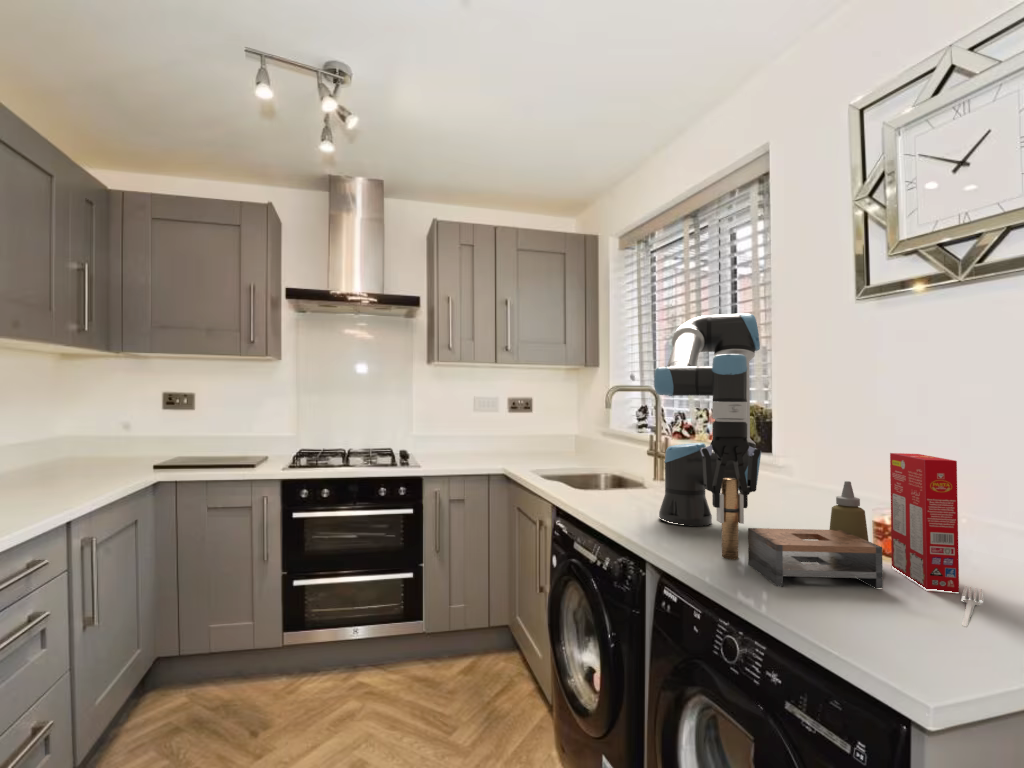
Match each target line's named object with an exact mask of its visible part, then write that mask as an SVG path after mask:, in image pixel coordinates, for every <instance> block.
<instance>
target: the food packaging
mask: <svg viewBox="0 0 1024 768" xmlns="http://www.w3.org/2000/svg"><path fill="white" fill-rule="evenodd" d="M889 462H890V463H889V471H890V474H889V475H890V477H889V479H890V480H889V481H890V526H891V527H890V538H891V539H890V541H891V542H890V544H891V545H890V546H891V548H890V549H891V567H892V566H893V567H894V568H896V569H897V570H899V571H900V572H902V573H903V574H905V575H906V576H908V577H910V578H911V579H913V580H914V581H916V582H917V583H918V584H920V585H922V586H923V587H925V588H926V589H937V590H944V591H952V592H959V593H960V568H959V567H960V563H959V512H958V507H959V506H958V464H957V463H958V461H957V460H953V459H949V458H942V457H938V456H931V455H926V454H920V453H904V452H903V453H901V452H900V453H898V452H894V453H893V452H890V453H889Z"/></svg>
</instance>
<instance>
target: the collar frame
mask: <svg viewBox="0 0 1024 768" xmlns="http://www.w3.org/2000/svg"><path fill="white" fill-rule="evenodd" d="M747 540H748V541H747V545H748V546H747V547H748V548H747V549H748V550H747V555H748V557H747V558H748V559H747V561H748V562H747V564H748V566H749V567H751V568H752V569H754V570H755V572H757V573H758V574H760V575H761V576H763V577H764V578H765V579H766V580H767V581H769V582H770V583H771V584H772V585H774V586H776V587H783V586H784V577H803V578H804V577H807V578H809V577H810V578H837V579H838V578H840V579H841V578H845V579H849V578H851V579H857V578H858V579H857V580H859V579H860V580H859V581H861V580H862V581H861V582H863V581H864V582H863V583H865V584H866V583H867V584H866V585H868V584H869V585H868V586H870V585H871V586H870V587H872V586H873V587H872V588H874V587H875V588H883V589H884V584H883V583H884V581H883V580H884V578H883V576H884V575H883V574H884V573H883V572H884V571H883V568H884V567H883V547H882V546H880V545H878V544H876V543H873V542H870V541H866V540H864V539H861V538H859V537H857V536H854V535H852V534H849V533H847V532H845V531H842V530H829V529H814V528H813V529H810V528H805V529H804V528H770V527H769V528H765V527H763V528H759V527H758V528H757V527H748V528H747ZM806 563H807V564H806ZM808 563H809V564H808ZM810 563H811V564H810ZM813 563H818V564H813ZM875 588H874V589H875Z"/></svg>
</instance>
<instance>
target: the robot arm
mask: <svg viewBox="0 0 1024 768" xmlns="http://www.w3.org/2000/svg"><path fill="white" fill-rule="evenodd" d="M760 343H761V342H760V335H759V328H758V322H757V318H756V317H755V315H754V314H752V313H739V312H737V313H727V314H726V313H725V314H724V313H723V314H710V315H709V314H707V315H706V314H705V315H701V316H697V317H693V318H691V319H688V320H687V321H686V322H684V323H682V324H681V325H680V326H679V327H678V328H677V329H676V330H675V332H673V336H672V339H671V345H672V350H671V353H670V356H669V359H668V362H667V365H666V366H660V367H657V368H656V369H655V371H654V378H653V379H654V384H653V385H654V391H655V393H656V394H657V395H658V396H669V397H676V396H677V397H680V396H681V397H683V396H684V397H688V396H695V397H696V396H699V397H703V396H704V397H705V396H706V397H711V396H712V406H711V407H712V409H711V410H712V411H711V412H712V413H711V414H712V419H713V420H714V421H713V422H712V425H711V426H712V440H711V442H710V444H709V445H707V446H706V444H705V443H704V442H693V443H682V444H676V445H669V446H668V447H667V448H666V450H665V457H664V497H663V499H662V502H661V505H660V507H659V508H660V509H659V510H658V511H659V512H658V518H659V517H660V518H661V519H664V520H666V521H669V522H673V523H678V524H684V525H693V526H692V527H703V525H705V526H709V524H710V525H711V524H712V523H713V521H712V520H713V519H712V518H713V516H712V512H711V509H710V507H709V503H708V500H707V498H706V497H707V496H706V491H709V492H711V493H712V506H713V508H716V521H717V522H718V523H720V524H722V523H724V494H722V481H723V478H735V479H738V508H739V512H738V524H744V522H745V521H744V519H745V518H744V517H745V515H744V513H745V511H744V509H748V505H749V504H748V503H749V501H748V495H750V494H751V493H755V492H756V491H757V486H758V481H759V473H760V464H761V457H762V450H761V449H760V448H756V446H757V445H756V444H757V443H755V441H753V440H752V439H751V416H750V415H751V408H750V406H751V405H750V404H751V402H750V401H751V400H750V394H751V393H750V392H751V391H750V385H751V384H750V382H751V381H750V380H751V379H750V361H751V360H753V358H755V355H756V354H755V353H756V352H758V351H760V350H761V349H760V348H761V346H760V345H761V344H760ZM700 353H714V354H713V357H712V365H711V366H705V365H704V366H697V365H698V360H699V354H700Z"/></svg>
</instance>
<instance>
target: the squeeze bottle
mask: <svg viewBox="0 0 1024 768" xmlns="http://www.w3.org/2000/svg"><path fill="white" fill-rule="evenodd" d="M835 502H836V503H835V504H836V505H833V506H831V512H830V521H829V529H828V530H842V531H845V532H847V533H849V534H852V535H854V536H857V537H859V538H861V539H864V540H866V541H869V535H868V534H869V533H868V532H869V531H868V527H867V526H868V524H867V518H866V511H865V510H864V509H863V508H862V507H860V506H861V498H860V497H856V496H855V493H854V489H853V486H852V482H851V481H848V480H846V481H845V480H844V483H843V488H842V492H841V495H838V496H835ZM869 542H870V541H869Z"/></svg>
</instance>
